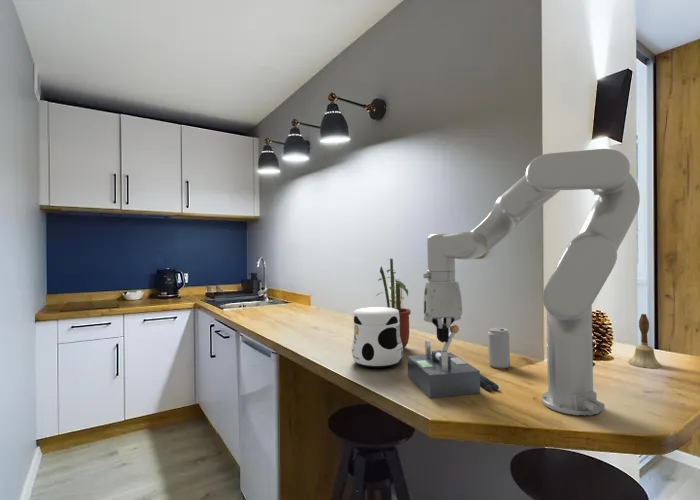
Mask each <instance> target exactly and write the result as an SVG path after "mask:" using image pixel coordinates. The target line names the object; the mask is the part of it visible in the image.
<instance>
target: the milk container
mask: <svg viewBox="0 0 700 500" xmlns="http://www.w3.org/2000/svg"><path fill="white" fill-rule="evenodd" d="M352 317H353V318H352V320H353V339H352V344H351V355H352V359H353V361H354V363H355V364H357V365H359V366H362V367H363V368H364V367H366V368H370V369H371V368H373V369H384V368H389V367H394V366H396V365H398V364H400V362H401V361H402V359H403V355H404V349H403V345H402V342H401V338H400V322H399V311H398V310H397V309H394V308H392V307H390V308H388V307H385V306H384V307H383V306H373V307H372V306H370V307H361V308H358V309H355V310H354V311H353V316H352Z"/></svg>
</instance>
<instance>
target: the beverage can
mask: <svg viewBox="0 0 700 500" xmlns="http://www.w3.org/2000/svg"><path fill="white" fill-rule="evenodd" d="M487 343H488V345H487V350H488V351H487V352H488V354H487V355H488V364H489V365H490V366H491V368H495V369H500V370H501V369H503V370H504V369H507V368H509V367H510V365H511V355H510V353H511V352H510V333H509V330H508V329H507V328H504V327H490V328H489V329H488V332H487Z"/></svg>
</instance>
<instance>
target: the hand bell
mask: <svg viewBox="0 0 700 500" xmlns="http://www.w3.org/2000/svg"><path fill="white" fill-rule="evenodd" d="M638 328H639V331H640V334H641V335H640V345H637V346H635V352H634V354H633V356H632V357H631V358H630V359H628V364H630V365H631V366H635V367H639V368H643V369H649V370H650V369H652V370H653V369H660V368H662V364H661V363H660V362H659V361H658V360H657V358H656V354H655V351H654V348H653V347H651V346H650V345H649V340H648V339H649V338H648V332H649V330H650V322H649V318H648V316H647V314H646V313H641V314H640V317H639V320H638Z"/></svg>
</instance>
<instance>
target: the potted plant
mask: <svg viewBox="0 0 700 500" xmlns="http://www.w3.org/2000/svg"><path fill="white" fill-rule="evenodd" d="M387 260H389V264H390V265H389V266H390V268H389V269H386V273H387V274H388V273H389V272H390V276H388V277H386V276H385V271H384V269H383V267H382V265H381V266H380V268H379V273H380V275H381V278H379V279H378V280H377V281H378V282H380V281H382V284H383V287H384V291H382V292H379V293H378V294H376V295H375V297H377V296H379V295H380V294H384V293H385V299H386V300H385V301H386V306H387V307H388V308H394V309H397V310H398V311H399V322H400V338H401V342H402V345H403V350H404V349H405V348H406V347H407V345H408V343H409V339H410V338H409V337H410V315H411V312H412V311H411V309H409V308H405V307H404V308H403V307H402V303H401V299H403V300H405V298H404V297H402V296H401V289H402V290H403V291H405V294H406V296H407V297H408V296H409V290H408V289H407V286H406V285H405V284H404V283H403V282H402V281H401V280H400V278H399V279H398V278H397V279H395V274H396V273H397V271H395V269H394V259H393V258H391V257H390V258H387V259H386V261H387ZM389 278H390V286H389V287H388V285H387V280H386V279H389ZM388 288H389V289H390V297H391V303H390V297H389V291H388ZM395 302H396V303H395ZM390 304H391V305H390Z"/></svg>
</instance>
